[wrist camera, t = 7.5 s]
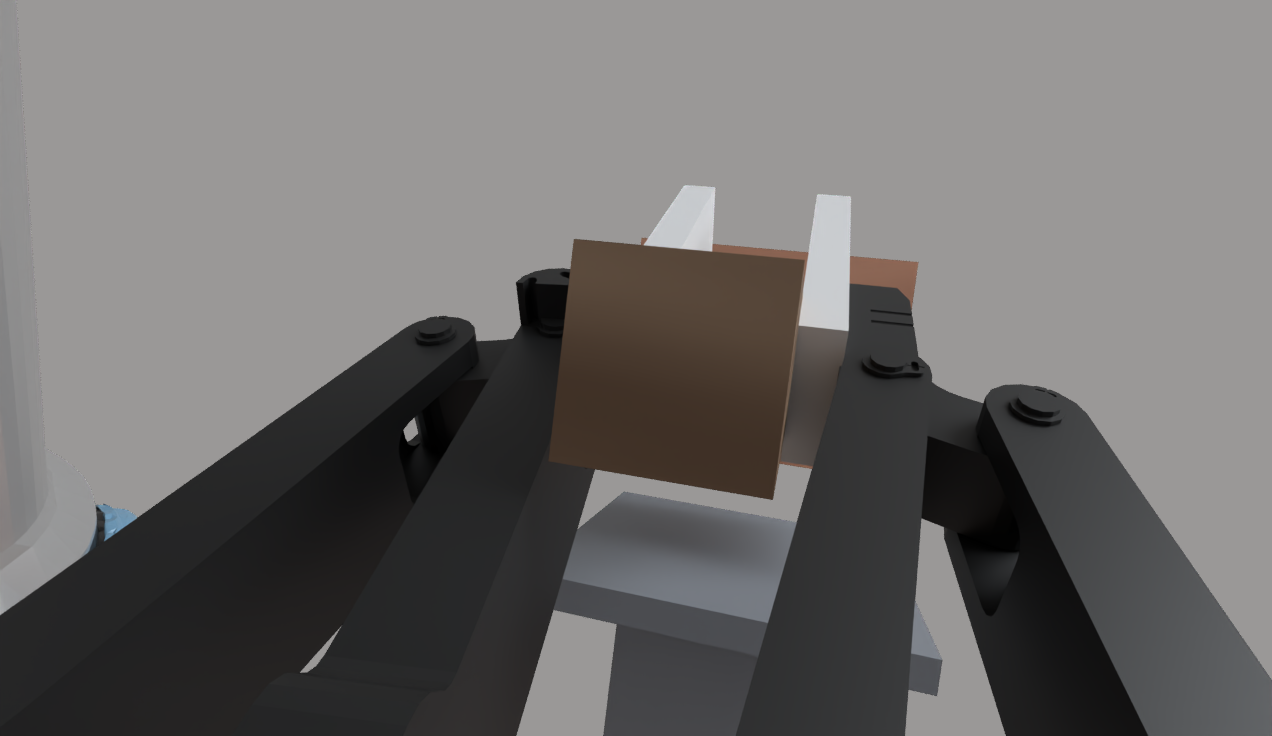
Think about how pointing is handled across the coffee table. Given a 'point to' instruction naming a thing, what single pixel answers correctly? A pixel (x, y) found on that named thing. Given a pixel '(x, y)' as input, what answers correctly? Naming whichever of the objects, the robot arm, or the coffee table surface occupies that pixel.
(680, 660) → the plinth
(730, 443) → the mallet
